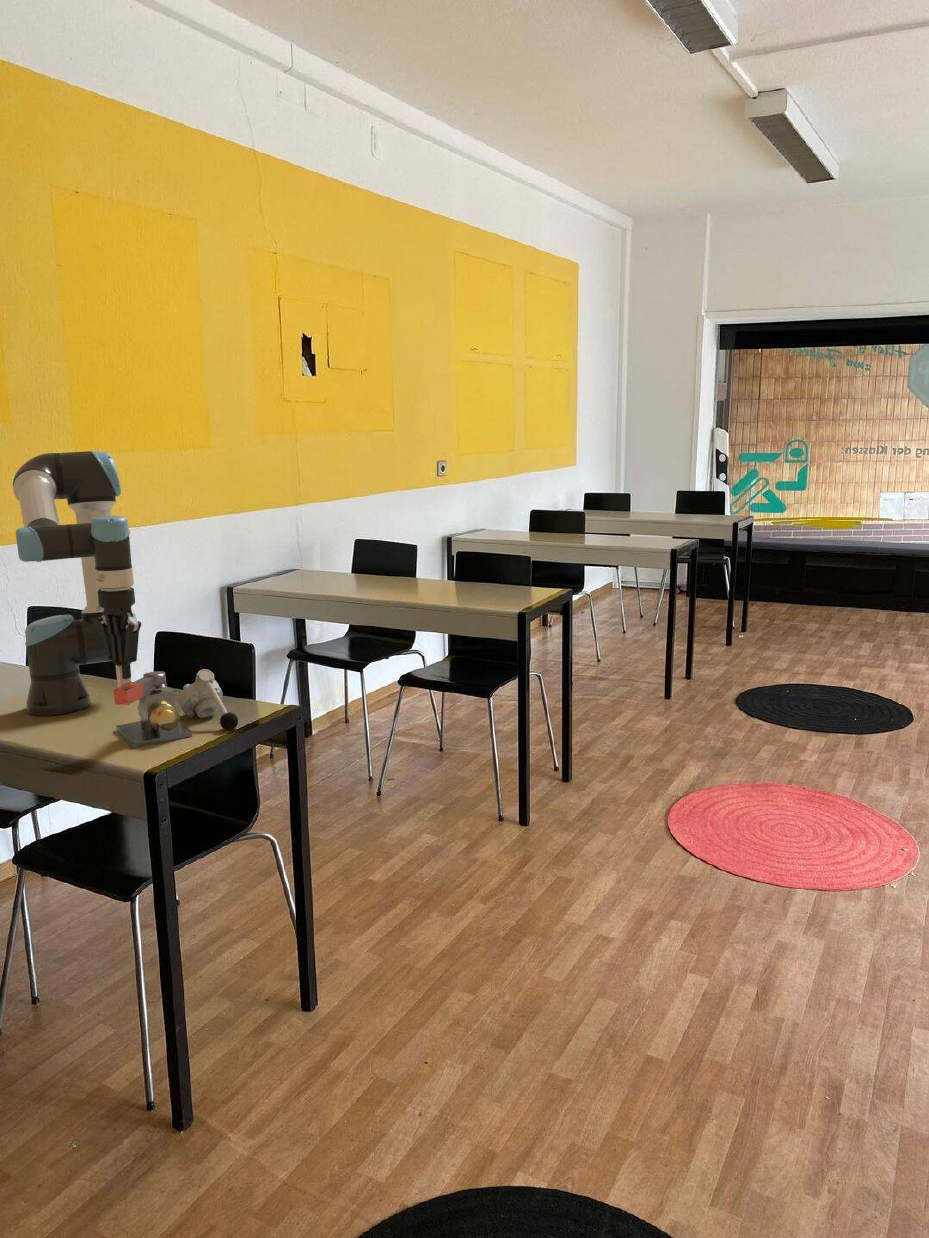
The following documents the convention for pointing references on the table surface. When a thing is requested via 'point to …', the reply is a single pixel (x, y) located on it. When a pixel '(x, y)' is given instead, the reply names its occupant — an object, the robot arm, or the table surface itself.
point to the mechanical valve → (206, 700)
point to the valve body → (155, 720)
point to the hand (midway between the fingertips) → (125, 692)
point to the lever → (139, 688)
